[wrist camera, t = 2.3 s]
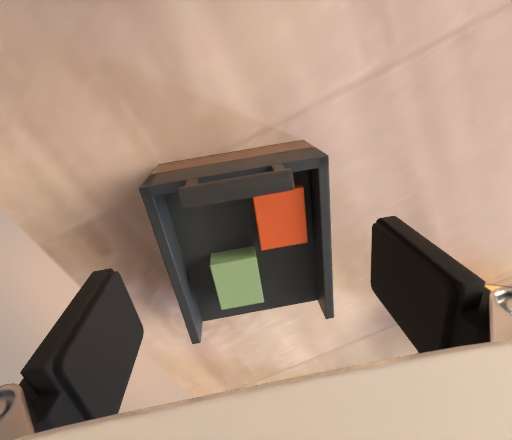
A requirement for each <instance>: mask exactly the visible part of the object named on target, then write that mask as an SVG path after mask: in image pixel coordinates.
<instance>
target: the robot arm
mask: <svg viewBox="0 0 512 440" xmlns="http://www.w3.org/2000/svg"><path fill="white" fill-rule="evenodd" d="M371 287H372V289H373V291H374V293H375V294H376V296H377V297H378V298H379V300H380V301H381V302H382V304H383V305H384V306H385V308H386V309H387V310H388V312H389V313H390V314H391V316H392V317H393V318H394V320H395V321H396V322H397V324H398V325H399V326H400V328H401V329H402V330H403V332H404V333H405V334H406V336H407V337H408V338H409V340H410V341H411V343H412V344H413V345H414V347H415V348H416V349H417V351H418V352H419V354H414V355H408V356H403V357H397V358H392V359H387V360H382V361H377V362H372V363H367V364H362V365H356V366H351V367H346V368H341V369H336V370H331V371H326V372H321V373H316V374H311V375H306V376H301V377H296V378H291V379H286V380H281V381H276V382H271V383H266V384H261V385H256V386H251V387H246V388H241V389H236V390H231V391H226V392H221V393H216V394H211V395H206V396H202V397H197V398H192V399H187V400H182V401H177V402H173V403H168V404H163V405H158V406H154V407H149V408H144V409H139V410H134V411H129V412H125V413H120V414H118V412H119V409H120V406H121V402H122V399H123V396H124V393H125V390H126V387H127V384H128V381H129V378H130V375H131V372H132V369H133V366H134V363H135V360H136V357H137V354H138V350H139V348H140V344H141V341H142V338H143V333H144V331H143V326H142V323H141V321H140V319H139V317H138V314H137V312H136V310H135V307H134V305H133V303H132V301H131V298H130V296H129V294H128V291H127V289H126V287H125V285H124V282H123V280H122V278H121V275H120V274H119V272H117V271H116V272H114V270H113V269H111V268H110V269H105V270H99V271H94V272H93V273H92V274H91V275H90V276H89V278H88V279H87V281H86V282H85V283H84V285H83V286H82V287H81V289H80V291H79V292H78V293H77V294H76V296H75V297H74V299H73V300H72V301H71V303H70V304H69V305H68V307H67V308H66V310H65V311H64V312H63V314H62V315H61V317H60V318H59V319H58V321H57V322H56V324H55V325H54V326H53V328H52V329H51V331H50V332H49V333H48V335H47V336H46V338H45V339H44V340H43V342H42V343H41V344H40V346H39V347H38V348H37V350H36V351H35V353H34V354H33V355H32V357H31V359H30V360H29V361H28V362H27V364H26V365H25V367H24V368H23V369H22V371H21V374H22V376H23V377H24V378H23V380H22V381H21V383H20V384H19V385H17V384H5V385H2V386H0V440H512V287H501V288H497V289H494V290H493V291H492V292H491V291H490V290H489V289H487V288H486V287H485V281H484V280H482V279H481V278H479V277H478V276H477V275H475V274H474V273H473V272H471V271H470V270H468V269H467V268H466V267H464V266H463V265H462V264H460V263H459V262H458V261H456V260H455V259H453V258H452V257H451V256H449V255H448V254H447V253H445V252H444V251H442V250H441V249H440V248H438V247H437V246H436V245H434V244H433V243H432V242H430V241H429V240H427V239H426V238H425V237H423V236H422V235H421V234H419V233H418V232H416V231H415V230H414V229H412V228H411V227H410V226H408V225H407V224H406V223H404V222H403V221H401V220H400V219H399V218H397V217H396V216H390V217H385V218H379V219H378V220H377V222H376V223H374V224H373V226H372V252H371Z"/></svg>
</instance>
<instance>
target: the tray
mask: <svg viewBox="0 0 512 440" xmlns="http://www.w3.org/2000/svg"><path fill="white" fill-rule="evenodd" d="M294 180H298V181H299V183H300V184H301V185H302V186H303V188H304V201H305V214H306V227H307V240H308V242H307V243H301V244H296V245H290V246H285V247H279V248H274V249H268V250H263V251H262V250H261V247H260V243H259V238H258V232H257V226H256V220H255V214H254V207H253V201H252V197H257V196H263V195H269V194H275V193H280V192H286V191H292V190H293V189H294ZM139 190H140V193H141V196H142V199H143V202H144V204H145V207H146V210H147V213H148V216H149V219H150V222H151V225H152V228H153V231H154V234H155V236H156V239H157V242H158V245H159V248H160V251H161V254H162V257H163V260H164V263H165V266H166V268H167V271H168V274H169V277H170V280H171V283H172V286H173V289H174V292H175V295H176V298H177V301H178V303H179V306H180V309H181V312H182V315H183V318H184V321H185V324H186V327H187V330H188V333H189V335H190V338H191V341H192V344H196V343H200V342H201V332H202V321H207V320H213V319H218V318H223V317H229V316H234V315H240V314H245V313H250V312H256V311H261V310H266V309H272V308H277V307H282V306H288V305H293V304H299V303H304V302H309V301H315V300H318V302H319V304H320V307H321V309H322V311H323V313H324V316H325V318H326V319H329V318H334V305H333V276H332V248H331V219H330V190H329V159H328V155H327V154H325V153H323V152H322V151H320V150H319V149H317V148H316V147H312V148H306V149H300V150H294V151H288V152H283V153H277V154H271V155H265V156H259V157H253V158H247V159H241V160H236V161H230V162H224V163H218V164H212V165H206V166H200V167H194V168H188V169H183V170H177V171H171V172H165V173H159V174H153V175H150V176H149V177H148V178H147V179H146V180H145V181H144V183H143V184H142V185H141V186H140V187H139ZM250 246H254V248H255V253H256V258H257V264H258V270H259V276H260V281H261V287H262V293H263V299H264V302H262V303H256V304H251V305H246V306H240V307H235V308H229V309H224V310H221V307H220V303H219V299H218V295H217V291H216V288H215V284H214V280H213V276H212V272H211V268H210V258H211V253H216V252H222V251H227V250H233V249H238V248H244V247H250Z"/></svg>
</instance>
